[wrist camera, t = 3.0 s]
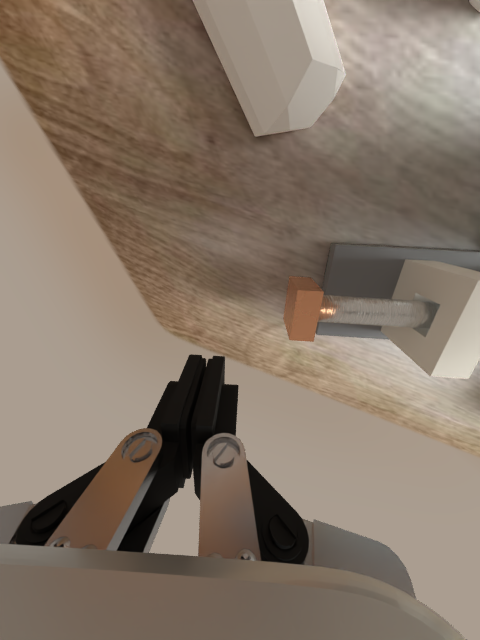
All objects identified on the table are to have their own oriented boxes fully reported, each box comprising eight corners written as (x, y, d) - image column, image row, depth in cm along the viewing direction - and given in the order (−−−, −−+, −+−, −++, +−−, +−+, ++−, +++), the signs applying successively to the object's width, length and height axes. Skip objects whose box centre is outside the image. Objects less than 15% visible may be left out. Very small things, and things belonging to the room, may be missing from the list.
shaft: (283, 318, 23) (289, 340, 19) (289, 276, 21) (297, 290, 17) (483, 331, 23) (533, 355, 19) (507, 288, 21) (568, 306, 17)
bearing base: (313, 328, 28) (341, 380, 19) (331, 243, 24) (376, 259, 15) (520, 342, 27) (645, 401, 18) (576, 256, 23) (772, 281, 14)
